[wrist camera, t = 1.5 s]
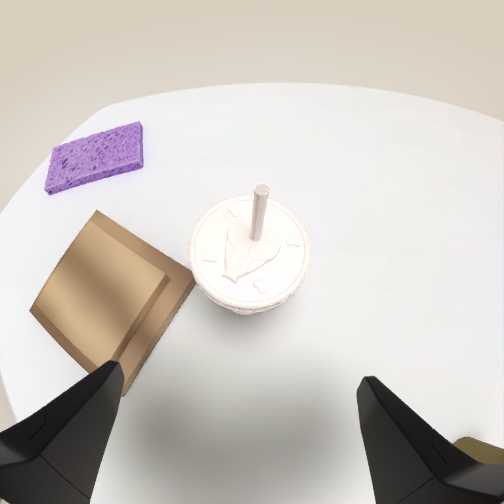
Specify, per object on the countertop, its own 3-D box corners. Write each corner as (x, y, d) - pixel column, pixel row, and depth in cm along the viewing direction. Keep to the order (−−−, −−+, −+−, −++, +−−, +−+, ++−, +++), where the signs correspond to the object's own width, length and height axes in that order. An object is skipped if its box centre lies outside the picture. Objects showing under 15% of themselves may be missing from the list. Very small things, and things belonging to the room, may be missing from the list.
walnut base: (124, 395, 19) (109, 398, 17) (38, 314, 21) (19, 307, 19) (198, 279, 24) (192, 267, 21) (102, 217, 25) (90, 201, 23)
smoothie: (297, 280, 24) (359, 181, 11) (260, 346, 22) (292, 320, 9) (232, 244, 25) (227, 120, 12) (191, 306, 23) (134, 227, 10)
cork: (428, 474, 17) (501, 500, 6) (462, 427, 18) (540, 432, 8) (451, 492, 15) (516, 514, 5) (482, 449, 17) (551, 456, 7)
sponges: (59, 156, 29) (53, 147, 28) (145, 129, 31) (141, 118, 29) (50, 198, 27) (42, 190, 25) (144, 171, 28) (140, 160, 27)
